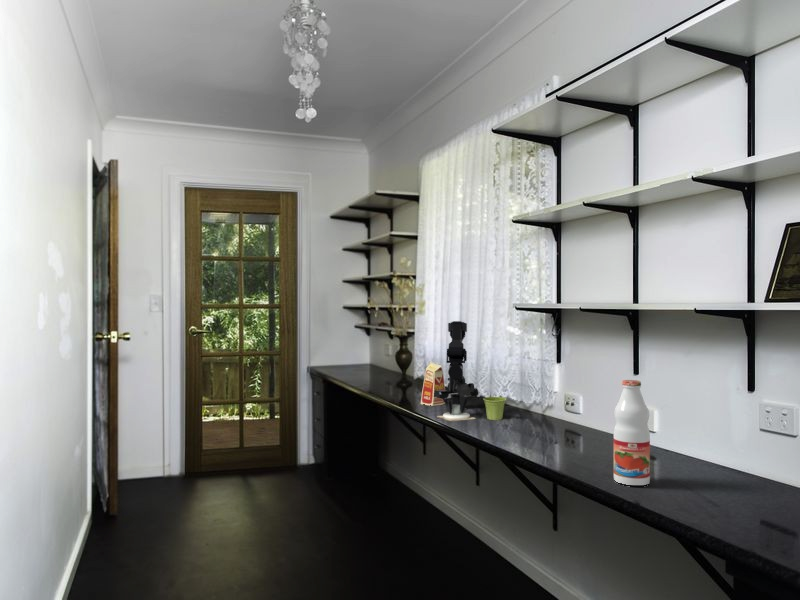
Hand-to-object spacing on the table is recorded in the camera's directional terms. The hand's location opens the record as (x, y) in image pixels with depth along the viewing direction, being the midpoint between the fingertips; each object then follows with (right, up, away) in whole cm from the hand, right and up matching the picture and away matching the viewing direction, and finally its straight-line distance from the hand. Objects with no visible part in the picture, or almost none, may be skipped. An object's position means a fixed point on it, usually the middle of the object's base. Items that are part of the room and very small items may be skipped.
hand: (456, 413), depth 264 cm
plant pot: (+16, -2, -2) cm, 16 cm away
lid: (0, -2, 0) cm, 2 cm away
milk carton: (-7, -2, +35) cm, 36 cm away
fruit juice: (+40, -3, -89) cm, 98 cm away
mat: (0, -2, 0) cm, 2 cm away
